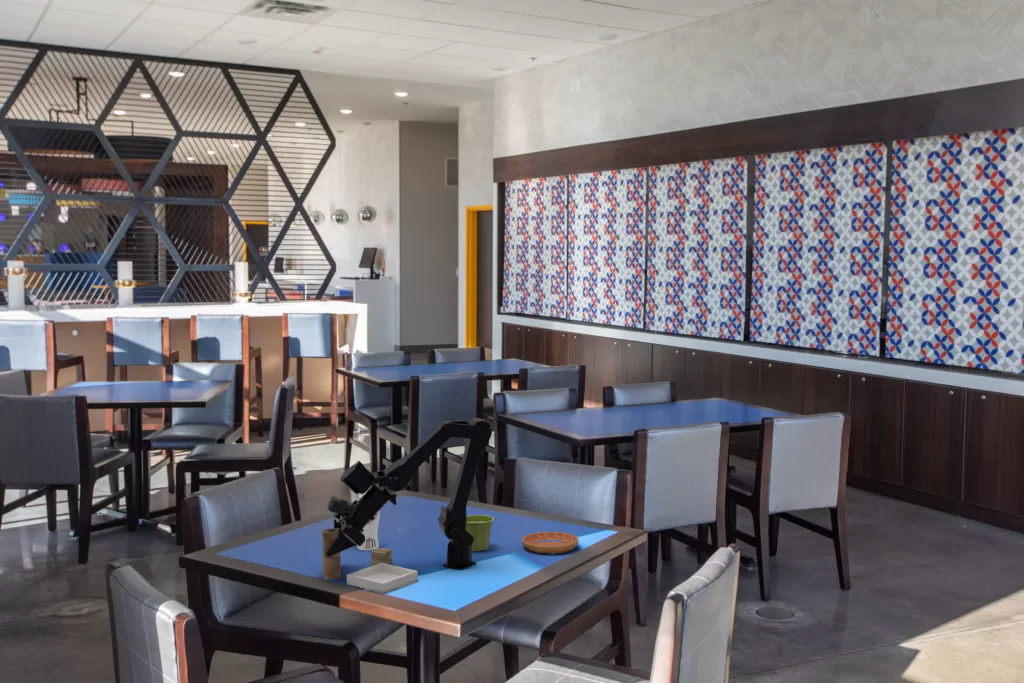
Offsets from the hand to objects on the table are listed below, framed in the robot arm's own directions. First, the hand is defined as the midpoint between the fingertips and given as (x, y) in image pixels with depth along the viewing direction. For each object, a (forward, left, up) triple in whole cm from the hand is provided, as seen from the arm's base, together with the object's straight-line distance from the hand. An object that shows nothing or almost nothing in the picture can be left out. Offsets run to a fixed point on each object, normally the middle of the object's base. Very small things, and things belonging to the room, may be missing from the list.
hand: (325, 552), depth 243 cm
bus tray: (-5, +15, -7) cm, 17 cm away
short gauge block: (-16, +4, -7) cm, 18 cm away
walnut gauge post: (-1, +1, -7) cm, 7 cm away
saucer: (-56, +31, -7) cm, 64 cm away
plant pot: (-43, +15, -7) cm, 46 cm away
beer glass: (-26, -11, -7) cm, 29 cm away
